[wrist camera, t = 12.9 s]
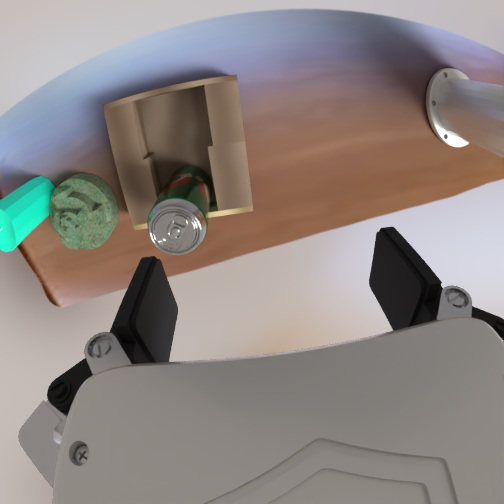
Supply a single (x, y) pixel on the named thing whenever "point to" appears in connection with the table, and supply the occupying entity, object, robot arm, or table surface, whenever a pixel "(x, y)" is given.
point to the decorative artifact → (84, 211)
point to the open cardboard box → (181, 143)
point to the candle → (24, 211)
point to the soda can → (181, 211)
